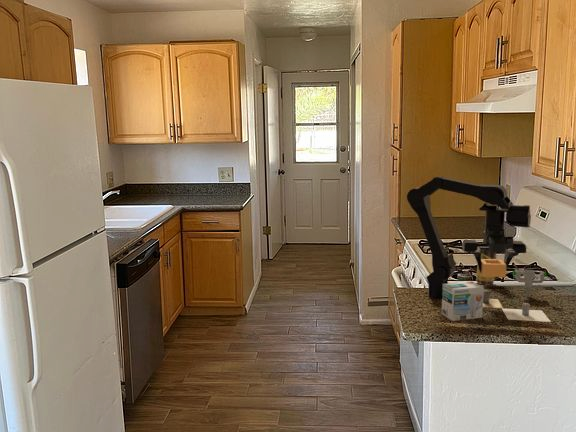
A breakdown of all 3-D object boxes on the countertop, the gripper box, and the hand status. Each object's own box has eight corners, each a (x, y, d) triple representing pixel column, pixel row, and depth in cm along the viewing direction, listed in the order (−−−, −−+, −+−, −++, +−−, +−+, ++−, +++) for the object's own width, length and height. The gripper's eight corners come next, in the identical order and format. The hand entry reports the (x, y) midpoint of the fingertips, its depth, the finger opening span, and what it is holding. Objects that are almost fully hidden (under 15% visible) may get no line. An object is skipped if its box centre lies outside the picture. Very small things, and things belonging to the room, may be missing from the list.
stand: (473, 309, 177) (474, 294, 176) (469, 300, 186) (470, 286, 185) (502, 310, 176) (503, 295, 175) (497, 301, 184) (498, 287, 184)
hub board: (508, 322, 166) (508, 308, 165) (501, 311, 175) (502, 297, 175) (550, 324, 164) (551, 310, 163) (541, 313, 173) (542, 299, 172)
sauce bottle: (472, 281, 208) (475, 230, 204) (486, 280, 209) (489, 229, 206) (483, 286, 201) (486, 233, 198) (498, 285, 203) (501, 232, 200)
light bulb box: (452, 324, 165) (454, 289, 163) (440, 316, 171) (441, 283, 169) (483, 320, 168) (485, 286, 166) (470, 313, 174) (471, 280, 172)
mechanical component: (544, 301, 184) (546, 272, 183) (512, 299, 187) (514, 271, 185) (542, 298, 187) (544, 270, 186) (510, 297, 189) (512, 269, 188)
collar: (482, 276, 175) (483, 264, 174) (479, 270, 182) (479, 258, 181) (505, 277, 174) (506, 264, 173) (501, 271, 181) (501, 259, 180)
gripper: (467, 229, 169) (465, 278, 171) (532, 230, 166) (529, 280, 168) (462, 222, 180) (461, 268, 182) (523, 223, 176) (520, 270, 179)
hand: (492, 272), depth 178 cm, fingers closed on collar, 7 cm apart
